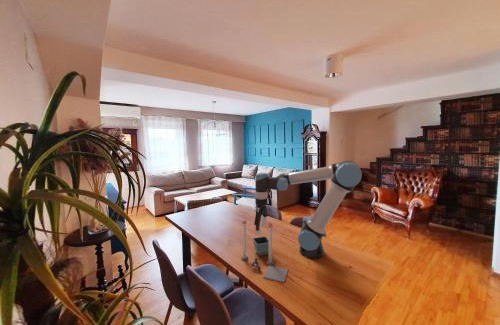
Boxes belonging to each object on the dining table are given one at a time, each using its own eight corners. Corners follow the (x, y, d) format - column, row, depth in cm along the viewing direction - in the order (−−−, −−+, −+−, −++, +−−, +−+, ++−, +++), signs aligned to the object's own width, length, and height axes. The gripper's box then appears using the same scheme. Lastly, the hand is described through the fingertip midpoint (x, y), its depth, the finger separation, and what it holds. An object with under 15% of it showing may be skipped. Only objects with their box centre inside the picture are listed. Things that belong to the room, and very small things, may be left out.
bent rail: (255, 261, 128) (255, 256, 127) (264, 263, 126) (264, 258, 125) (250, 269, 120) (250, 264, 119) (259, 271, 118) (259, 266, 118)
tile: (268, 266, 123) (268, 265, 123) (288, 270, 119) (288, 269, 119) (263, 278, 112) (263, 277, 112) (284, 282, 109) (284, 281, 109)
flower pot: (256, 258, 131) (256, 244, 130) (252, 251, 140) (252, 238, 139) (270, 256, 134) (270, 242, 133) (265, 249, 142) (265, 236, 141)
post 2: (267, 261, 128) (267, 221, 125) (274, 262, 127) (274, 222, 124) (265, 264, 124) (266, 224, 122) (272, 266, 123) (272, 225, 120)
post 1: (242, 256, 133) (242, 218, 131) (248, 257, 132) (248, 219, 129) (240, 259, 130) (239, 220, 127) (246, 261, 128) (246, 221, 126)
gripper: (261, 192, 146) (261, 222, 148) (248, 202, 122) (248, 238, 125) (272, 193, 143) (271, 224, 145) (261, 204, 120) (261, 240, 122)
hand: (261, 230), depth 135 cm, fingers open, 13 cm apart
